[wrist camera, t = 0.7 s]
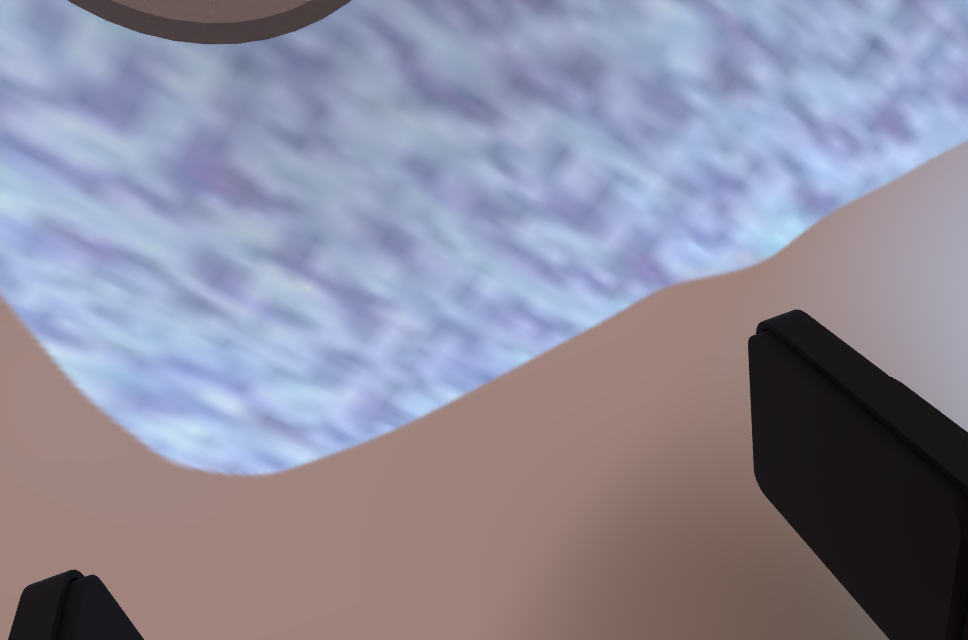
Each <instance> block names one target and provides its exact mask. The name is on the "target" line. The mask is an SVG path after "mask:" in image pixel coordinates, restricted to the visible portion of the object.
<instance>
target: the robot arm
mask: <svg viewBox="0 0 968 640" xmlns="http://www.w3.org/2000/svg"><path fill="white" fill-rule="evenodd" d="M748 353H749V375H750V397H751V418H752V439H753V459H754V460H753V461H754V474H755V477H756V480H757V482H758V485H759V487H760V489H761V490H762V492H763V493H764V495H765V496H766V497H767V498H768V500H769V501H770V502H771V503H772V504H773V505H774V506H775V507H776V509H777V510H778V511H779V512H780V513H781V515H783V517H784V518H785V519H786V520H787V521H788V523H789V524H790V525H791V526H792V527H793V528H794V530H795V531H796V532H797V533H798V534H799V535H800V537H801V538H802V539H803V540H804V541H805V542H806V543H807V545H808V546H809V547H810V548H811V549H812V550H813V551H814V553H815V554H816V555H817V556H818V557H819V558H820V560H821V561H822V562H823V563H824V564H825V565H826V567H827V568H828V569H829V570H830V571H831V572H832V574H833V575H834V576H835V577H836V578H837V579H838V580H839V582H840V583H841V584H842V585H843V586H844V587H845V589H846V590H847V591H848V592H849V593H850V594H851V595H852V597H853V598H854V599H855V600H856V601H857V602H858V604H859V605H860V606H861V607H862V608H863V609H864V611H865V612H866V613H867V614H868V615H869V616H870V618H871V619H872V620H873V621H874V622H875V623H876V624H877V626H878V627H879V628H880V629H881V630H882V631H883V632H884V634H885V635H886V636H887V637H888V638H889V640H968V432H966V431H965V430H964V429H962V428H961V427H960V426H958V425H957V424H956V423H954V422H953V421H952V420H950V419H949V418H948V417H946V416H945V415H944V414H942V413H941V412H940V411H939V410H937V409H936V408H935V407H933V406H932V405H931V404H929V403H928V402H927V401H925V400H924V399H923V398H921V397H920V396H919V395H917V394H916V393H915V392H913V391H912V390H911V389H909V388H908V387H907V386H905V385H904V384H903V383H901V382H899V381H898V380H896V379H894V378H892V377H889V376H888V375H887V374H886V373H885V372H883V371H882V370H881V369H879V368H878V367H877V366H875V365H874V364H873V363H871V362H870V361H869V360H867V359H866V358H865V357H863V356H862V355H861V354H859V353H858V352H857V351H855V350H854V349H853V348H851V347H850V346H849V345H847V344H846V343H845V342H843V341H842V340H841V339H840V338H838V337H837V336H836V335H834V334H833V333H832V332H830V331H829V330H828V329H826V328H825V327H824V326H822V325H821V324H820V323H818V322H817V321H816V320H815V319H813V318H812V317H811V316H809V315H808V314H807V313H805V312H803V311H801V310H793V311H790V312H787V313H784V314H781V315H779V316H776V317H773V318H771V319H768V320H765V321H763V322H760V323H759V324H758V326H757V329H756V335H753V336H751V337H750V338H749V341H748ZM8 640H144V639H143V637H142V636H141V635H140V633H139V632H138V631H137V629H136V628H135V626H134V625H133V624H132V622H131V621H130V620H129V618H128V617H127V615H126V614H125V613H124V611H123V610H122V609H121V607H120V606H119V605H118V603H117V602H116V600H115V599H114V598H113V596H112V595H111V593H110V592H109V591H108V589H107V588H106V587H105V585H104V584H103V583H102V581H101V580H100V579H99V578H98V577H97V576H95V575H89V576H86V577H84V576H83V574H82V573H81V572H79V571H77V570H70V571H67V572H64V573H61V574H59V575H56V576H53V577H50V578H47V579H45V580H42V581H39V582H36V583H33V584H31V585H29V586H27V587H26V588H25V589H24V590H23V593H22V595H21V597H20V601H19V604H18V608H17V611H16V614H15V618H14V621H13V625H12V628H11V632H10V635H9V639H8Z"/></svg>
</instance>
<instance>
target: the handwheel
mask: <svg viewBox="0 0 968 640" xmlns="http://www.w3.org/2000/svg"><path fill="white" fill-rule="evenodd" d="M112 1H114V2H117V3H120V4H122V5H125V6H128V7H130V8H133V9H135V10H138V11H141V12H145V13H149V14H153V15H157V16H161V17H165V18H169V19H174V20H183V21H191V22H199V23H234V22H241V21H248V20H255V19H262V18H265V17H269V16H272V15H276V14H279V13H282V12H286V11H289V10H292V9H294V8H296V7H298V6H300V5H303V4H305V3H307V2H309V1H311V0H112Z"/></svg>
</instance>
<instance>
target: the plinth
mask: <svg viewBox="0 0 968 640" xmlns="http://www.w3.org/2000/svg"><path fill="white" fill-rule="evenodd" d="M68 1H70V2H71V3H73V4H75V5H77V6H79V7H81V8H83V9H85V10H87V11H89V12H91V13H93V14H95V15H97V16H99V17H101V18H103V19H105V20H107V21H110V22H113V23H115V24H118V25H121V26H123V27H126V28H129V29H132V30H134V31H137V32H140V33H144V34H148V35H152V36H157V37H161V38H165V39H169V40H174V41H183V42H191V43H200V44H238V43H244V42H251V41H258V40H264V39H269V38H273V37H276V36H280V35H283V34H286V33H290V32H293V31H296V30H299V29H301V28H303V27H305V26H308V25H310V24H312V23H314V22H316V21H319V20H321V19H323V18H325V17H326V16H328V15H329V14H331V13H333V12H334V11H336V10H337V9H339V8H340V7H342V6H344V5H345V4H347V3H348V2H350V1H351V0H311V1H309V2H307V3H305V4H303V5H300V6H298V7H296V8H294V9H292V10H289V11H286V12H282V13H279V14H276V15H272V16H269V17H265V18H262V19H255V20H248V21H241V22H234V23H199V22H191V21H183V20H174V19H169V18H165V17H161V16H157V15H153V14H149V13H145V12H141V11H138V10H135V9H133V8H130V7H128V6H125V5H122V4H120V3H117V2H114V1H112V0H68Z"/></svg>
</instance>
